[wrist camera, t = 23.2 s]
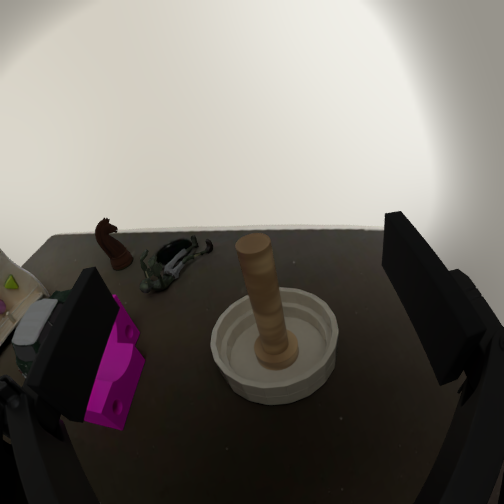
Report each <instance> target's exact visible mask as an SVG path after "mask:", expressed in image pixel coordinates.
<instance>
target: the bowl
mask: <svg viewBox="0 0 504 504" xmlns="http://www.w3.org/2000/svg"><path fill="white" fill-rule="evenodd" d="M279 290H280V296H281V301H282V307H283V313H284V319H285V325H286V329H287V330H289V331H291V332H292V333H294V335H295V336H296V338H297V340H298V347H299V355H298V358H297V360H296V361H295V362H294V363H293V364H292V365H291V366H290V367H288V368H286V369H283V370H277V371H275V370H269V369H266V368H264V367H263V366H261V365H260V364H259V362H258V360H257V358H256V354H255V351H254V343H255V341H256V339H257V338H258V336H259V331H258V328H257V324H256V321H255V317H254V313H253V310H252V306H251V303H250V299H249V295H247V296H244V297H243V298H241V299H240V300H238V301H236V302H235V303H233V304H232V305H231V306H230V307H229V308H228V309H227V310H226V311H225V312H224V313H223V314H222V315H221V316H220V317H219V319H218V321H217V323H216V325H215V326H214V328H213V331H212V337H211V344H210V345H211V350H212V354H213V358H214V361H215V363H216V365H217V367H218V368H219V370H220V372H221V374H222V376H223V378H224V380H225V381H226V382H227V383H228V385H229V386H230V387H231V388H232V390H233V391H234V392H235V393H237V394H239V395H240V396H242V397H244V398H245V399H247V400H249V401H252V402H257V403H261V404H266V405H277V404H288V403H292V402H295V401H297V400H300V399H302V398H305V397H307V396H309V395H311V394H312V393H313V392H315V391H316V390H317V389H318V388H320V387H321V386H322V385H323V384H324V383H325V382H326V381H327V379H328V378H329V376H330V374H331V373H332V371H333V370H334V368H335V363H336V358H337V353H338V335H339V330H338V326H337V321H336V317H335V315H334V313H333V312H332V311H331V309H330V308H329V306H328V305H327V304H326V303H325V302H324V301H322V300H321V299H320V298H318V297H317V296H315V295H314V294H311V293H308V292H305V291H302V290H300V289H294V288H282V287H281V288H279Z"/></svg>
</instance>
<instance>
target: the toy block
mask: <svg viewBox="0 0 504 504" xmlns="http://www.w3.org/2000/svg"><path fill="white" fill-rule="evenodd" d="M112 296H113V297H114V299H115V301H116V302H117V304H118V305H119V307H120V309H119V312H118V315H117V317H116V320H115V323H114V325H113V328H112V331H111V334H110V336H109V339H108V342H107V345H106V348H105V351H104V354H103V357H102V360H101V363H100V366H99V369H98V372H97V375H96V379H95V382H94V385H93V389H92V392H91V395H90V399H89V402H88V406H87V410H86V413H85V417H84V421H87V422H91V423H94V424H98V425H102V426H106V427H110V428H114V429H119V430H123V428H124V425H125V421H126V418H127V415H128V412H129V408H130V405H131V402H132V399H133V396H134V393H135V390H136V387H137V384H138V381H139V378H140V375H141V372H142V369H143V366H144V363H145V359H144V358H143V356H142V355H141V354H140V352H139V351H138V350H137V348H136V347H135V344H136V342H137V339H138V337H139V334H140V332H139V330H138V329H137V327H136V326H135V324H134V323H133V321H132V320H131V318H130V316H129V315H128V313H127V312H126V310H125V309H124V307H123V305H122V304H121V302H120V300H119V299H118V297H117V295H112Z"/></svg>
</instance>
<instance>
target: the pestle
mask: <svg viewBox="0 0 504 504" xmlns="http://www.w3.org/2000/svg"><path fill="white" fill-rule="evenodd" d="M235 247H236V251H237V255H238V259H239V262H240V266H241V270H242V273H243V277H244V281H245V284H246V288H247V292H248V295H249V299H250V303H251V306H252V310H253V313H254V317H255V321H256V324H257V328H258V331H259V336H258V338H257V339H256V341H255V343H254V351H255V354H256V358H257V360H258V362H259V364H260V365H261V366H263V367H264V368H266V369H269V370H275V371H277V370H283V369H286V368H288V367H290V366H291V365H292V364H293V363H294V362H295V361H296V360H297V358H298V355H299V347H298V340H297V338H296V336H295V335H294V333H292V332H291V331H289V330H287V329H286V325H285V319H284V313H283V307H282V301H281V296H280V290H279V284H278V279H277V273H276V268H275V262H274V257H273V251H272V246H271V240H270V238H269V237H268V236H267V235H265V234H262V233H253V234H248V235H246V236H243V237H242V238H240V239H239V240H238V241H237V243H236V246H235Z"/></svg>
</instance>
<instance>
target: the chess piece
mask: <svg viewBox="0 0 504 504" xmlns="http://www.w3.org/2000/svg"><path fill="white" fill-rule="evenodd" d="M116 230H118V229H117V227H116V226H114V225H111V224H110V223H109V219H107V218H106V219H105V218H104V219H103V220H102V221H100V222H99V223H98V225H97V227H96V229H95V236H96V240H97V242H98V244H99V245H100V247H101V248H102V249H103V250H104V252H105V253H106V254H107V255H108V257H109V258H110V261H111V265H112V267H113V269H115V270H122V269H124V268H126V267H128V266H129V265H130V264H131V263H132V261H133V257H132V255H131V254H130V252H129V251H128V250H127V249H126V248H125V247H124V245H123V244H121V243H120V242H119V241H118V240H116V239H115V238H113V237H112V236H110V235H109V233H113V232H116V233H117V231H116Z"/></svg>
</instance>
